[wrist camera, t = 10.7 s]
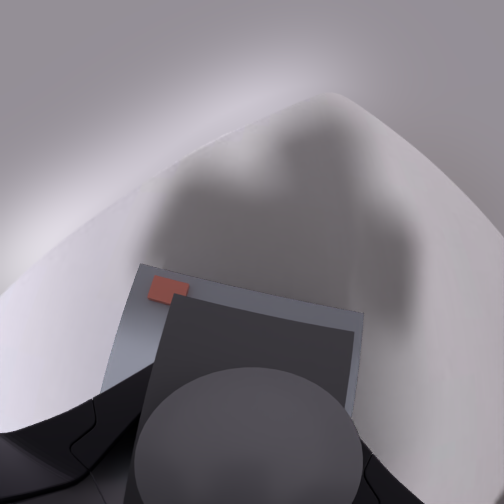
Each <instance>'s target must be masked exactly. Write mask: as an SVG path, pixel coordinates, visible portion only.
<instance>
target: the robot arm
mask: <svg viewBox="0 0 504 504" xmlns="http://www.w3.org/2000/svg"><path fill="white" fill-rule="evenodd" d="M153 364H154V362H153V363H152V364H150V365H148V366H147V367H145V368H143V369H142V370H140V371H138V372H136V373H135V374H133V375H131V376H130V377H128V378H126V379H125V380H123V381H121V382H119V383H118V384H116V385H114V386H113V387H111V388H109V389H107V390H106V391H104V392H102V393H100V394H99V395H97V396H95V397H93V400H92V399H89V400H88V401H86V402H84V403H82V404H80V405H79V406H77V407H75V408H73V409H71V410H69V411H67V412H64V413H62V414H60V415H57V416H55V417H52V418H50V419H47V420H44V421H42V422H39V423H36V424H34V425H31V426H28V427H25V428H22V429H19V430H16V431H13V432H8V433H0V504H123V502H124V496H125V490H126V484H127V479H128V473H129V468H130V463H131V458H132V453H133V448H134V443H135V439H136V434H137V430H138V425H139V421H140V416H141V412H142V408H143V404H144V399H145V395H146V391H147V387H148V383H149V379H150V376H151V372H152V368H153ZM359 438H360V437H359ZM360 442H361V445H362V454H363V470H362V476H361V481H360V485H359V488H358V491H357V494H356V496H355V498H354V500H353V502H352V504H424V503H423V502H422V501H421V500H420V499H418V498H417V497H416V496H415V495H414V494H413V493H412V492H410V491H409V490H408V489H407V488H406V487H405V486H404V485H403V484H401V483H400V482H399V481H398V480H397V479H396V478H395V477H394V476H393V475H392V474H391V473H390V472H389V471H388V470H387V469H386V467H385V466H384V465H383V464H382V463H381V462H380V461H379V460H378V459H377V457H376V456H375V455H374V454H372V452H371V450H370V449H369V448H368V447H367V446H366V445H365V443H364V442H363V441H362V440H361V439H360Z"/></svg>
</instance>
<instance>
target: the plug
mask: <svg viewBox="0 0 504 504" xmlns="http://www.w3.org/2000/svg"><path fill="white" fill-rule="evenodd" d="M354 333H355V332H353V331H347V330H342V329H336V328H330V327H325V326H319V325H314V324H309V323H303V322H298V321H293V320H288V319H283V318H279V317H274V316H269V315H264V314H260V313H255V312H251V311H246V310H242V309H237V308H233V307H228V306H224V305H220V304H216V303H212V302H207V301H203V300H199V299H195V298H191V297H187V296H183V295H180V294H176V293H174V294H173V298H172V301H171V304H170V308H169V311H168V314H167V318H166V321H165V325H164V328H163V331H162V335H161V339H160V342H159V346H158V349H157V353H156V357H155V360H154V364H153V368H152V372H151V376H150V379H149V383H148V387H147V391H146V395H145V399H144V404H143V408H142V412H141V416H140V421H139V425H138V430H137V434H136V439H135V443H134V448H133V453H132V458H131V463H130V468H129V473H128V479H127V484H126V490H125V496H124V502H123V504H352V502H353V500H354V498H355V496H356V494H357V491H358V488H359V485H360V481H361V476H362V470H363V454H362V445H361V442H360V438H359V434H358V432H357V429H356V427H355V425H354V423H353V421H352V419H351V418H350V416H349V414H348V413H347V411H346V410H345V409H344V408H345V402H346V396H347V390H348V383H349V376H350V368H351V360H352V352H353V343H354Z"/></svg>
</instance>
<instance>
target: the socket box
mask: <svg viewBox="0 0 504 504" xmlns="http://www.w3.org/2000/svg"><path fill="white" fill-rule="evenodd" d="M174 293H176V294H180V295H183V296H187V297H191V298H195V299H199V300H203V301H207V302H212V303H216V304H220V305H224V306H228V307H233V308H237V309H242V310H246V311H251V312H255V313H260V314H264V315H269V316H274V317H279V318H283V319H288V320H293V321H298V322H303V323H309V324H314V325H319V326H325V327H330V328H336V329H342V330H347V331H353V332H355V333H354V343H353V352H352V360H351V368H350V376H349V383H348V390H347V396H346V402H345V408H344V409H345V410H346V411H347V413H348V414H349V416H350V418H351V417H352V411H353V405H354V399H355V392H356V385H357V378H358V370H359V361H360V352H361V342H362V331H363V318H364V313H360V312H355V311H349V310H344V309H339V308H334V307H329V306H324V305H319V304H314V303H309V302H304V301H299V300H294V299H289V298H285V297H280V296H275V295H271V294H266V293H261V292H257V291H252V290H248V289H243V288H239V287H235V286H230V285H226V284H222V283H217V282H213V281H209V280H205V279H200V278H196V277H192V276H188V275H184V274H180V273H176V272H172V271H168V270H164V269H160V268H156V267H152V266H148V265H144V264H140V266H139V268H138V271H137V274H136V276H135V279H134V282H133V285H132V288H131V291H130V293H129V296H128V299H127V302H126V305H125V308H124V311H123V314H122V318H121V321H120V324H119V327H118V330H117V334H116V337H115V340H114V344H113V347H112V350H111V354H110V357H109V361H108V365H107V368H106V372H105V376H104V380H103V384H102V388H101V392H100V393H102V392H104V391H106V390H107V389H109V388H111V387H113V386H114V385H116V384H118V383H119V382H121V381H123V380H125V379H126V378H128V377H130V376H131V375H133V374H135V373H136V372H138V371H140V370H142V369H143V368H145V367H147V366H148V365H150V364H152V363H153V362H154V360H155V357H156V353H157V349H158V346H159V342H160V339H161V335H162V331H163V328H164V325H165V321H166V318H167V314H168V311H169V308H170V304H171V301H172V298H173V294H174Z"/></svg>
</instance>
